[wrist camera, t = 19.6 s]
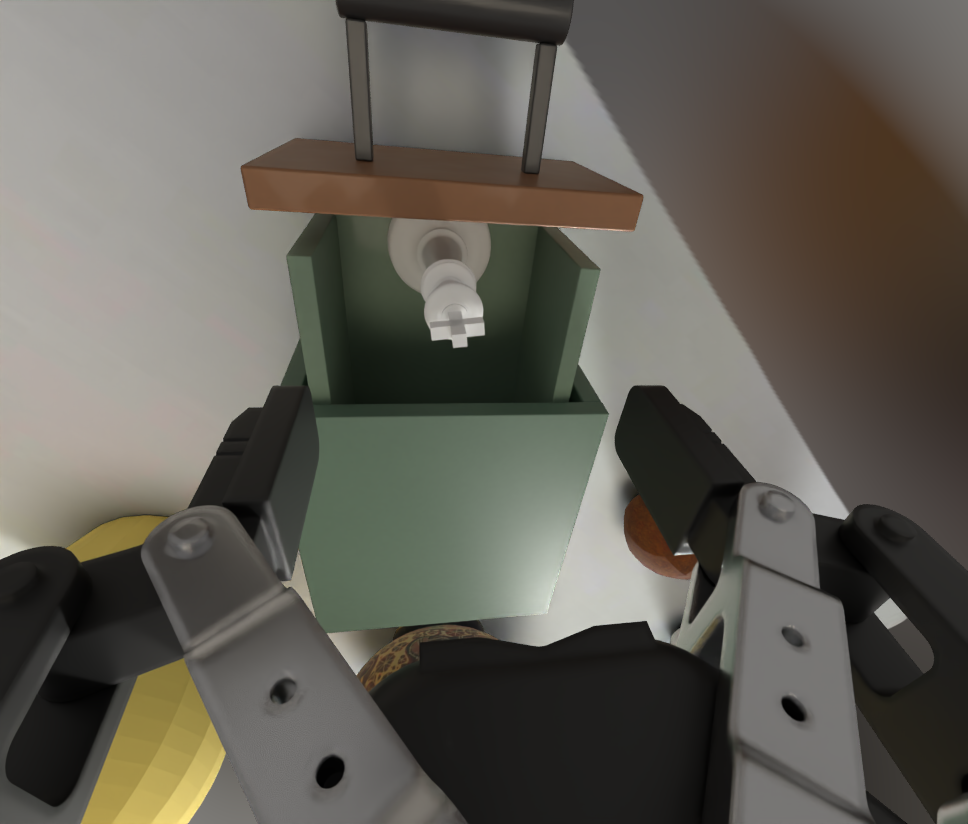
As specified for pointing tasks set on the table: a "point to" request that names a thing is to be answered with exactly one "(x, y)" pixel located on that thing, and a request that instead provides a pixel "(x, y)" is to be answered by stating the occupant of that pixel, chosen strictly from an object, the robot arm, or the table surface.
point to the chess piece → (443, 272)
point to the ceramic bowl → (413, 647)
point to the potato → (653, 543)
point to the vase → (152, 725)
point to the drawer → (446, 197)
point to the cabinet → (443, 506)
